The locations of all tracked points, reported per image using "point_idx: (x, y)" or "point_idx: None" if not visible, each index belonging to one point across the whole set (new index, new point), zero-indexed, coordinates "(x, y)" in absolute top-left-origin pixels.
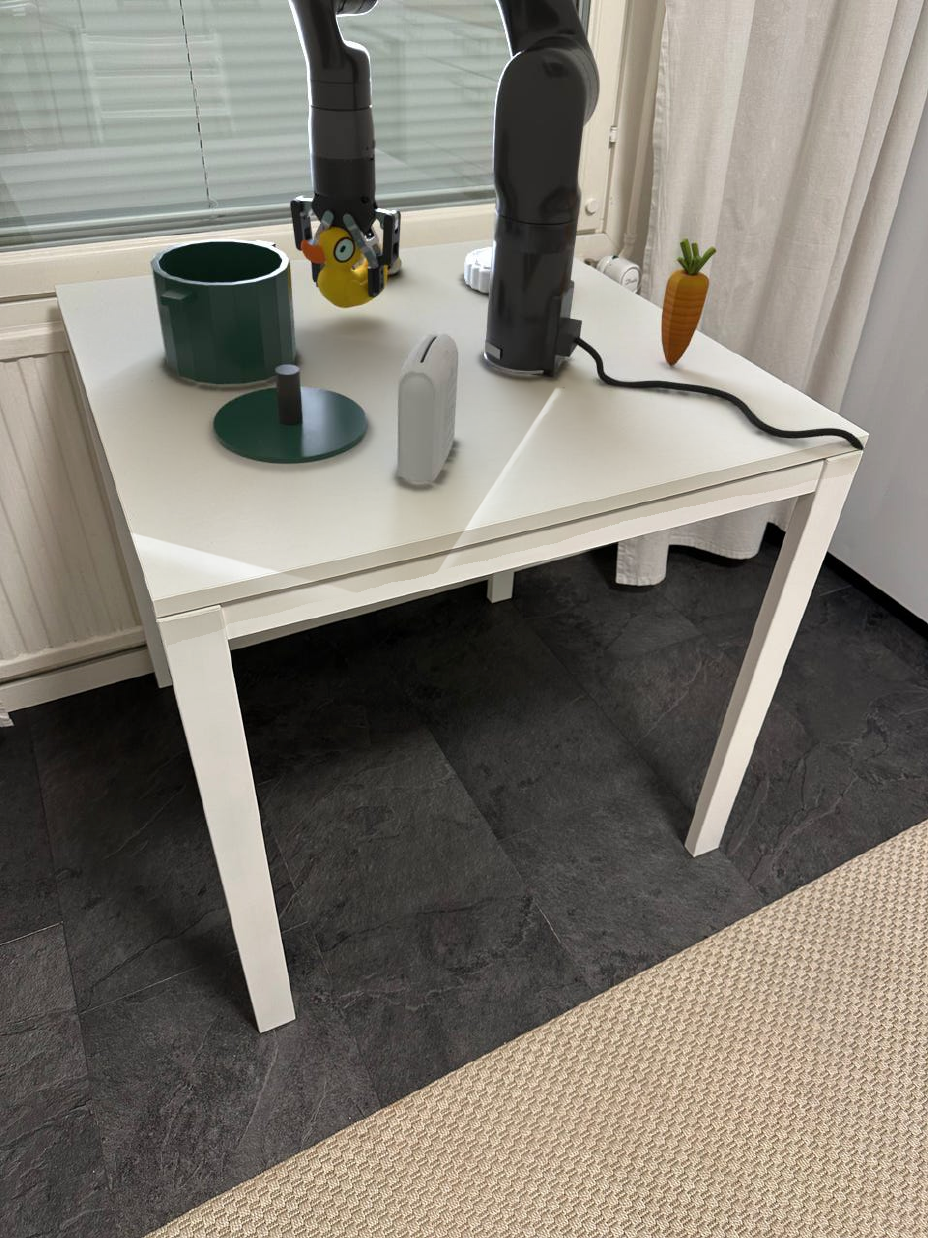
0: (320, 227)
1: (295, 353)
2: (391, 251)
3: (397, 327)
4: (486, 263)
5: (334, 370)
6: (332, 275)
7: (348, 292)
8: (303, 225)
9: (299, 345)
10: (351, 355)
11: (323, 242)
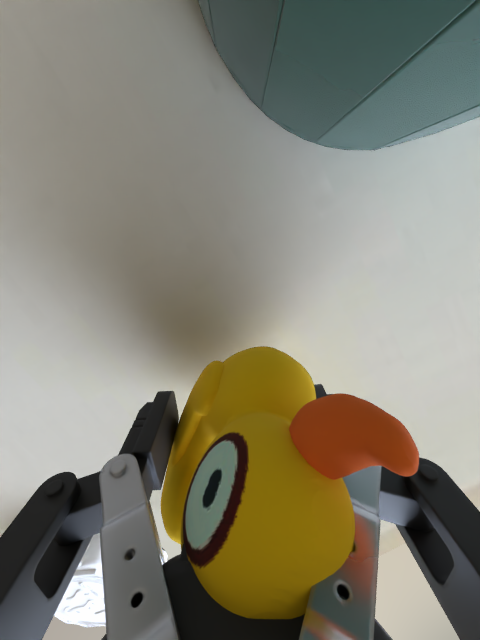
0: (363, 593)
1: (208, 25)
2: (5, 532)
3: (130, 363)
4: (102, 581)
5: (82, 43)
6: (255, 390)
7: (211, 372)
8: (471, 584)
9: (258, 161)
10: (113, 176)
11: (305, 493)
